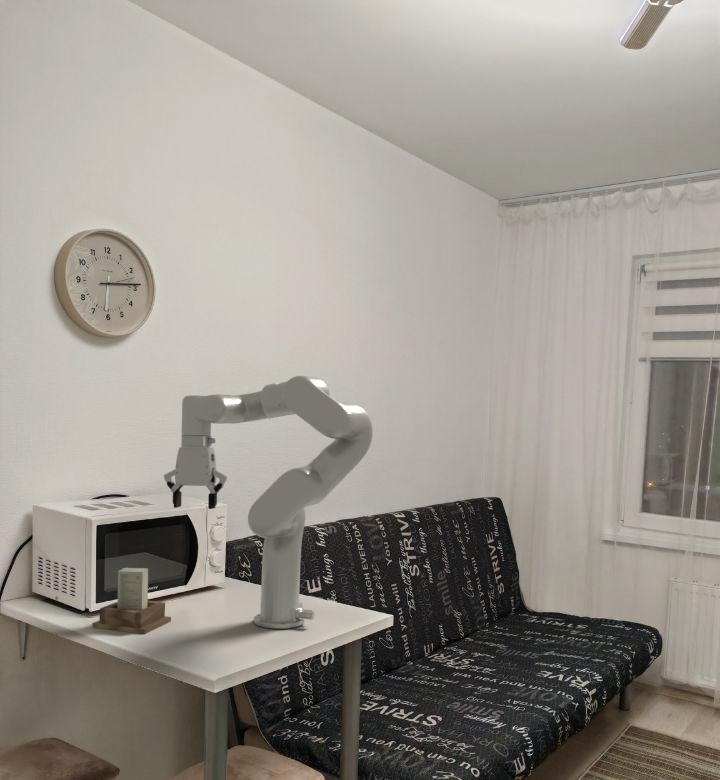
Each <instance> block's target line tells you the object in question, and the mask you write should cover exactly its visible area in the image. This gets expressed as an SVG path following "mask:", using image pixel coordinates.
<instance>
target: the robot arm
mask: <svg viewBox="0 0 720 780" xmlns="http://www.w3.org/2000/svg"><path fill="white" fill-rule="evenodd" d="M181 402H182V403H181V406H182V407H181V439H180V446H181V447H178V450H177V454H176V461H175V462H176V463H175V469H172V471H168V472H167V473H165V474H164V475H163V479H164V481H165V482H166V486H167V487H168V488H169V489H170V492H171V493H172V504H173V508H175V509H177V508H180V507H181V506H182V494H183V493H182V491H181V489H182V488H183V487H184V486H187V487H188V486H189V487H190V486H192V487H206V488H207V489H208V491H209V492H210V493H208V502H207V503H208V506H207V508H208V509H209V510H212V509H213V510H214V509H216V506H217V505H218V493H219V492H220V490H221V489H223V488H224V485H225V484H226V481H227V479H228V476H227V475H225V474H223V473H222V472H220V471H218V470H217V460H216V454H215V450H214V447H211V446H212V444H216V438H214V437H212V436H211V435H212V434H211V432H212V424H215V425H218V424H221V425H223V424H224V425H225V424H229V425H230V424H240V423H241V424H243V423H248V422H249V423H250V422H255V421H262V420H266V419H269V420H270V419H275V418H279V417H286V416H290V415H292V416H293V415H297V416H298V417H299V418H300V419H302V420H303V421H304V422H305V423H307V424H308V425H309V426H310V427H312V428H313V429H315V430H316V431H317V432H318V433H320V434H321V435H323V436H325V437H326V438H328V439H332V440H333V439H334V440H333V441H332V442H331V443H330V444H328V445H327V446H326V447H324V449H322V450H321V451H320V453H319V454H318V455H317V456H316V457H315V458H314V459H313V460H311V461H310V463H308V464H306V465H305V466H301V467H300V466H299V467H295V468H292V469H290V470H289V469H288V470H286V471H285V472H284V473H283V474H281V475H280V476H279V477H278V478H277V479H276V480H275V481H274V482H273V483H272V484H271V485H270V486H269V487H268V488H267V489H266V490H265V491H264V492H263V493H262V494H261V495H260V496H259V497H258V498H257V499H256V500H255V501H254V503H253V504H252V505H251V507H250V509H249V511H248V515H247V523H248V524H247V525H248V527H249V528H250V531H251V532H252V533H253V534H254V535H255V536H257V537H260V538H264V541H263V546H262V547H263V548H262V560H261V561H262V563H261V585H260V587H261V589H260V610H259V611H260V613H258V614H256V615H255V616H254V617H253V623H254V624H255V625H257V626H258V627H263V628H267V629H277V630H279V629H281V630H283V629H284V630H285V629H293V628H297V627H300V626H302V625H304V623H305V622H306V621H305V620H311V621H312V620H314V619H315V611H313V609H305V608H304V607H303V602H300V582H301V581H300V580H301V561H302V560H301V559H302V556H301V555H302V544H303V542H302V541H303V536H304V529H305V526H306V525H305V523H306V510H305V508H307V507H310V506H314V505H317V504H319V503H321V502H322V501H323V500H325V499H326V498H327V497H328V496H329V494H330V493H331V492H332V491H333V490H334V489H335V488H336V487H337V486H338V485H339V484H340V483H341V482H342V481H343V480H344V479H345V478H346V476H348V475H349V474H350V473H351V471H353V469H355V468H356V466H358V464H359V463H361V461H362V460H363V459H364V457H365V456H366V454H367V453H368V451H369V449H370V446H371V444H372V441H373V432H374V430H373V423H372V419H371V417H370V416H369V414H368V412H367V411H366V410H365V409H364V408H363V407H362V406H360V405H357V404H354V403H346V402H344V403H343V402H339V401H337V400H336V399H334V398H333V397H332V396H330V389H329V386H328V385H327V383H326V382H324V381H323V380H322V379H320V378H317V377H312V376H307V375H296V376H294V377H291V378H290V379H288V380H287V381H283V382H276V383H269V384H267V385H264V387H262V390H260V391H255V392H251V393H246V394H245V393H244V394H236V395H231V394H210V395H209V394H208V395H198V394H197V395H191V394H190V395H185V396H183V398H182V401H181ZM173 477H174V481H175V482H174V481H173V479H172V478H173ZM217 479H218V483H217ZM216 483H217V484H216Z"/></svg>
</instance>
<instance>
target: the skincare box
mask: <svg viewBox="0 0 720 780" xmlns="http://www.w3.org/2000/svg"><path fill="white" fill-rule="evenodd" d="M148 593H149V568H148V567H147V568H146V567H145V568H144V567H124V568H123V567H122V568H121V569H120V570H117V602H118V606H117V609H126V610H135V611H140V610H143V609H145V608H147V602H148V601H149V600H148V597H149V596H148Z"/></svg>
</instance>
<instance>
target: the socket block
mask: <svg viewBox="0 0 720 780" xmlns="http://www.w3.org/2000/svg"><path fill="white" fill-rule="evenodd" d="M117 606H118V601H116V602H112V603H110V604H107V605H105V606H102V607H100V608H99V619H98V620H97V621H95V622H92V625H91V626H92V627H93V628H92V629H103V630H108V631H109V630H111V631H119V632H127V633H135V634H142V635H143V634H144V635H146V634H148V633H150V632H151V631H155V630H156V629H158V628H160V627H162V626H164V625H166V624H168V623H170V622H171V621H172V617H171V616H166V614H165V613H166V602H162V601H154V600H148V602H147V608H145V609H143V610H140V611H135V610H126V609H117Z"/></svg>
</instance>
